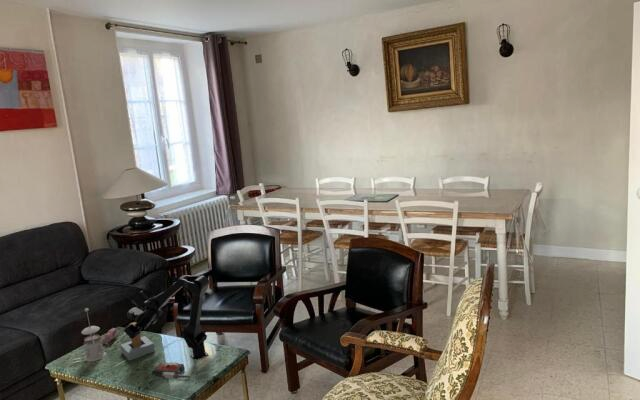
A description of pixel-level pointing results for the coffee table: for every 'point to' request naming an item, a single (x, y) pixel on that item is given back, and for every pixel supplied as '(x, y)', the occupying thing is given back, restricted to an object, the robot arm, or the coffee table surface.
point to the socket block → (137, 348)
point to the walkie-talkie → (170, 370)
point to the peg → (136, 340)
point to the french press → (95, 348)
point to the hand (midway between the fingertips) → (133, 335)
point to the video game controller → (109, 335)
